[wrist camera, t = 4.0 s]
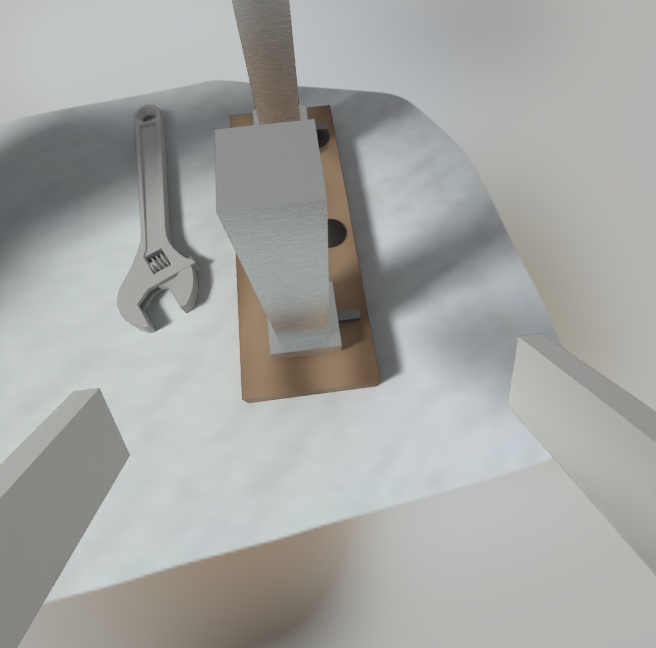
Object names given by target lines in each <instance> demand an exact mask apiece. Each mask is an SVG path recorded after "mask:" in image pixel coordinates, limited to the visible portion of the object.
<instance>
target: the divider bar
mask: <svg viewBox="0 0 656 648" xmlns="http://www.w3.org/2000/svg"><path fill="white" fill-rule="evenodd" d="M306 111H307V117H308V120H310V119H315V124H321V123H327V126H328V134H323V135H317V139H318V145H319V151H320V158H321V164H322V170H323V177H324V183H325V189H326V196H327V220H328V274H329V282H332V283H333V290H334V297H335V303H336V310H337V312H340V311H348V310H356V309H359V311H360V316H361V319H360V321H353V322H345V323H339V330H340V337H341V344H342V348H341V351H339V352H331V353H323V354H315V355H307V356H300V357H292V358H284V359H276V360H273V358H272V357H271V355H270V347H269V334H268V320H267V315H266V313H265V311H264V309H263V307H262V305H261V303H260V301H259V299H258V297H257V295H256V292H255V290H254V288H253V286H252V284H251V282H250V280H249V278H248V276H247V274H246V272H245V270H244V268H243V266H242V264H241V262H240V260H239V258H238V255H237V253H236V269H237V292H238V316H239V339H240V362H241V386H242V400H244V401H246V402H247V403H253V402H260V401H268V400H275V399H283V398H290V397H298V396H306V395H313V394H321V393H328V392H336V391H343V390H351V389H359V388H366V387H374V386H377V385H378V384H379V382H380V378H379V373H378V367H377V362H376V356H375V351H374V345H373V340H372V334H371V329H370V323H369V318H368V312H367V307H366V301H365V296H364V290H363V285H362V279H361V274H360V268H359V263H358V257H357V252H356V246H355V241H354V235H353V230H352V224H351V219H350V213H349V208H348V202H347V197H346V191H345V186H344V180H343V175H342V169H341V164H340V158H339V153H338V147H337V142H336V136H335V131H334V125H333V120H332V114H331V109H330V105H327V106H318V107H308V108H306ZM253 125H254V121H253V113H250V114H240V115H230V128H233V127H243V126H253Z"/></svg>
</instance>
